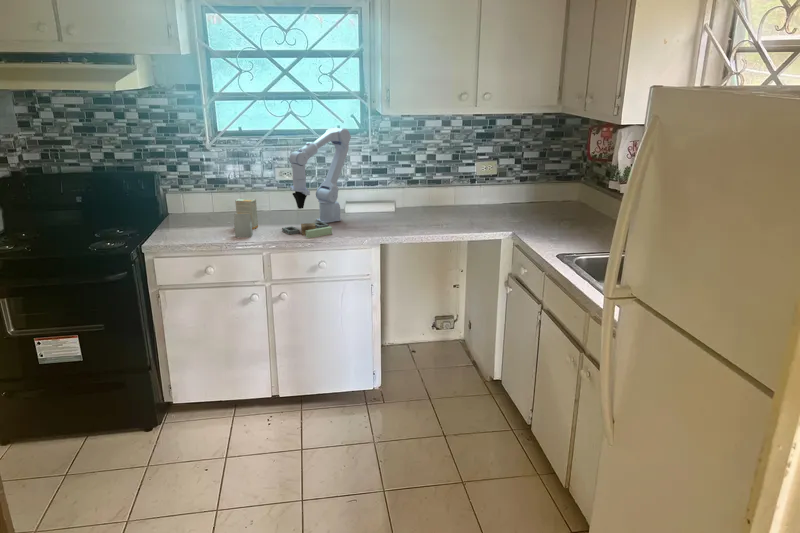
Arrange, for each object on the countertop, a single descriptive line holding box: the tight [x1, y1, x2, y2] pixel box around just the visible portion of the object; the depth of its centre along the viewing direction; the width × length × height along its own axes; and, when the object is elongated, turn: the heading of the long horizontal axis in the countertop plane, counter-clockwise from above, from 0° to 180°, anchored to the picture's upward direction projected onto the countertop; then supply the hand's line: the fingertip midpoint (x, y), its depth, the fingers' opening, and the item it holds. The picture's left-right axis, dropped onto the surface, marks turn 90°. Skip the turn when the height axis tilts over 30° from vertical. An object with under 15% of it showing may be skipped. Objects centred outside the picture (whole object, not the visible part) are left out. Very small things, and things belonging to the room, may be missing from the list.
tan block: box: [300, 222, 317, 236], centre depth 267 cm, size 6×5×4 cm
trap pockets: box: [281, 221, 333, 239], centre depth 269 cm, size 20×16×3 cm
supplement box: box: [234, 197, 259, 230], centre depth 273 cm, size 8×5×13 cm, turn 74°
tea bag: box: [233, 213, 253, 238], centre depth 260 cm, size 4×7×10 cm, turn 93°
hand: (300, 208), depth 275 cm, fingers closed
